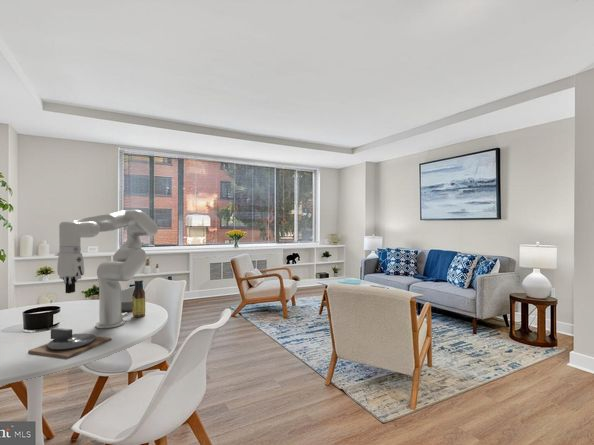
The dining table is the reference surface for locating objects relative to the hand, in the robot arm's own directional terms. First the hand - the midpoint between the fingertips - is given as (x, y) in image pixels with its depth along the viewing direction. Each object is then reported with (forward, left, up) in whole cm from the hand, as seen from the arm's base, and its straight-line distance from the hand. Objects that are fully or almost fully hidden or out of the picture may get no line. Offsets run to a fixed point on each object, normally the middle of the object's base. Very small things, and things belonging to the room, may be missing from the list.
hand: (70, 292), depth 141 cm
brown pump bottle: (-38, +2, -21) cm, 44 cm away
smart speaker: (-47, -13, -21) cm, 53 cm away
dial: (+5, +5, -20) cm, 21 cm away
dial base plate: (+5, +6, -21) cm, 22 cm away
